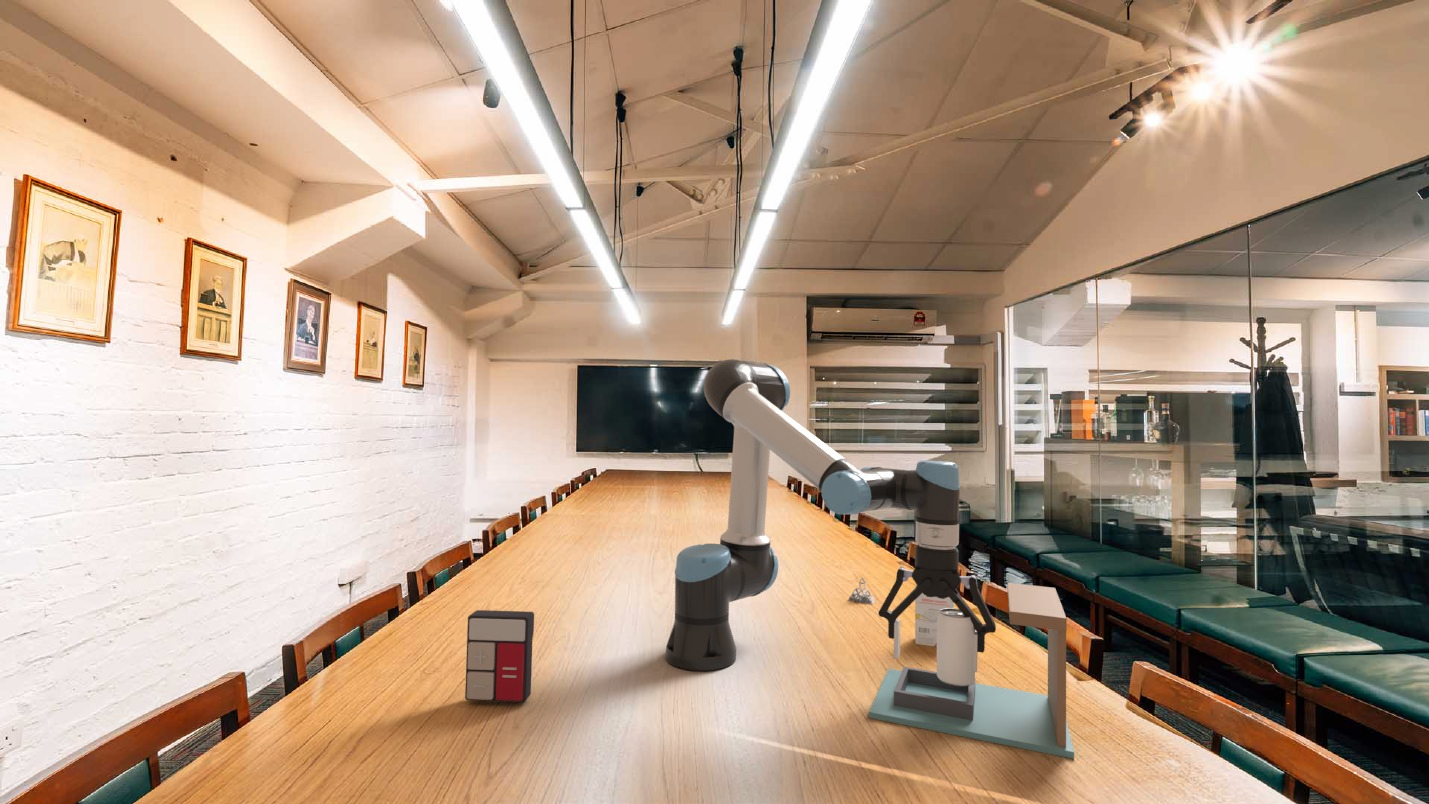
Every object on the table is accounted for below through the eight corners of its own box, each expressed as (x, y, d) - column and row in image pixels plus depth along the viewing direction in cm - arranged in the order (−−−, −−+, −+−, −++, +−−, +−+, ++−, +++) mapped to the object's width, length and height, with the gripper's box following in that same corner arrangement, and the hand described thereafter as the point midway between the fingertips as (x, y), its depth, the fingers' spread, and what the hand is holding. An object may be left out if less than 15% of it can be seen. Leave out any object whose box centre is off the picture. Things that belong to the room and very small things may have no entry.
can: (978, 688, 112) (978, 619, 112) (939, 685, 113) (939, 616, 113) (971, 675, 118) (971, 609, 118) (934, 671, 119) (934, 606, 120)
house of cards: (887, 602, 185) (887, 576, 185) (877, 610, 177) (878, 582, 178) (856, 597, 190) (857, 571, 190) (846, 604, 182) (847, 577, 182)
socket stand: (869, 717, 111) (870, 594, 111) (888, 673, 131) (889, 569, 131) (1074, 758, 98) (1074, 620, 99) (1060, 702, 118) (1060, 588, 119)
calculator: (462, 702, 113) (465, 616, 114) (472, 692, 118) (475, 609, 118) (524, 704, 113) (526, 618, 114) (532, 694, 117) (534, 611, 118)
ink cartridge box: (954, 644, 150) (955, 580, 150) (954, 650, 145) (954, 585, 145) (916, 638, 153) (916, 576, 153) (914, 645, 148) (915, 581, 149)
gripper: (864, 542, 119) (862, 657, 119) (1011, 556, 109) (1010, 683, 109) (871, 535, 126) (869, 645, 125) (1011, 549, 116) (1009, 667, 115)
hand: (934, 663), depth 117 cm, fingers open, 13 cm apart
